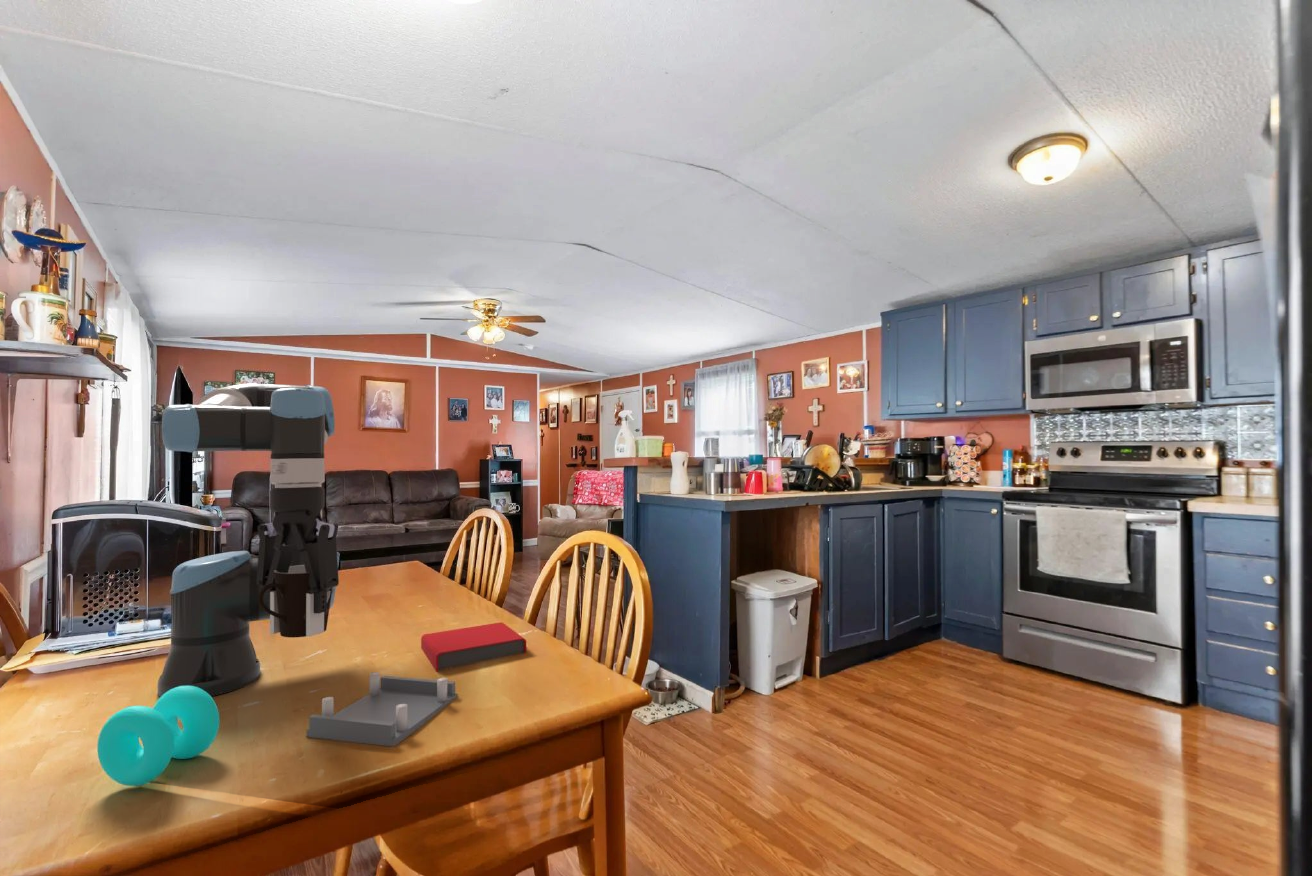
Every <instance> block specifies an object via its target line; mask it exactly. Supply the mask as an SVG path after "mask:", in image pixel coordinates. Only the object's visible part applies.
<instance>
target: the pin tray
mask: <svg viewBox="0 0 1312 876" xmlns="http://www.w3.org/2000/svg"><path fill="white" fill-rule="evenodd" d="M380 675H381V673H380V672H378V671H376V672H375V671H374V672H371V673H369V693H368V694H367V695H365V696H363V697H361V698H360V699H358V700H357V701H355V702H353V703H351V704H350V705H348V706H346V707H344V708H342V709H341V710H339V711H337V712H336V713H334V712H335V711H334V704H335V703H334V702H335V701H334V698H335V697H333V696H328V697H327V696H326V697H323V698H322V700H321V714H312V715H311V716H309V717H308V719H309V721H308V722H309V723H308V725H309V726H308V728H307V729H306V732H305V734H306V735H305V736H306V738H313V739H324V740H330V741H331V740H332V741H340V742H349V743H356V744H357V743H359V744H366V745H367V744H368V745H376V746H385V747H393V748H394V747H396V746H397V745H399V744H400V743H401V742H403V741H404V740H405V739H406V738H408V737H409V736H411V734H413V733H414V732H416V731H417V730H418V729H420V728H422V726H423V725H425V724H426V723H427V722H429V720H431V719H432V718H433V717H434V716H436V715H437V714H438V713H440V712H441V710H443V709H444V708H445V707H446V706H448V705H449V704H450V703H451V702H452V701H454V700H455V699H456V698H457V697H458V696H459V694H458V693H457V692H456V681H452V680H451V681H449V680H448V678H447V677H440V678H438V679H426V678H417V677H416V678H415V677H404V676H403V677H402V676H391V675H383V676H380ZM453 699H454V700H453Z"/></svg>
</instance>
